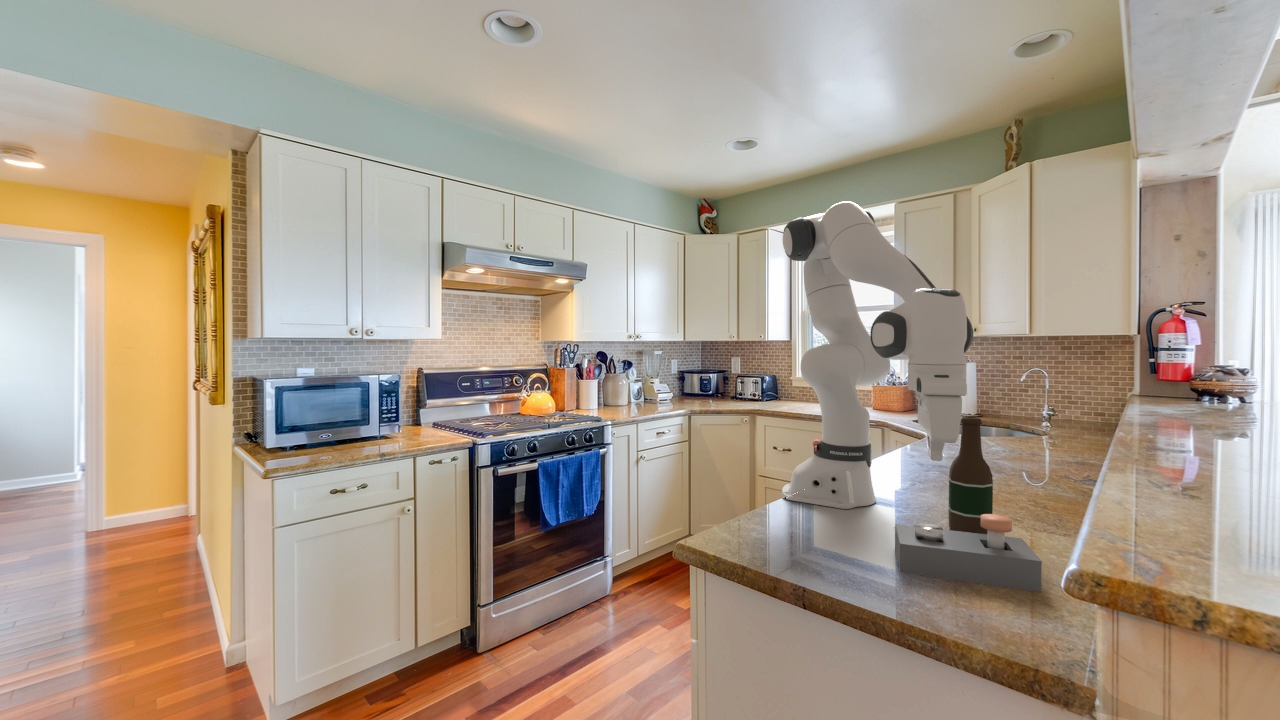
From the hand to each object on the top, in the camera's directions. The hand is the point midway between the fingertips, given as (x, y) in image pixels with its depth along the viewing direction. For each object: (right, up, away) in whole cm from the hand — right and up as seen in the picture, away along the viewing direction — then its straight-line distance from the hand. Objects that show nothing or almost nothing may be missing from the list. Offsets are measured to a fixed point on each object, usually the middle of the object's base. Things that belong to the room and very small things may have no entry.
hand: (935, 459), depth 91 cm
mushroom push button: (+9, -16, -3) cm, 18 cm away
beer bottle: (+16, -19, +16) cm, 29 cm away
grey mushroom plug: (-1, -18, +1) cm, 19 cm away
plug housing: (+4, -19, -1) cm, 19 cm away
